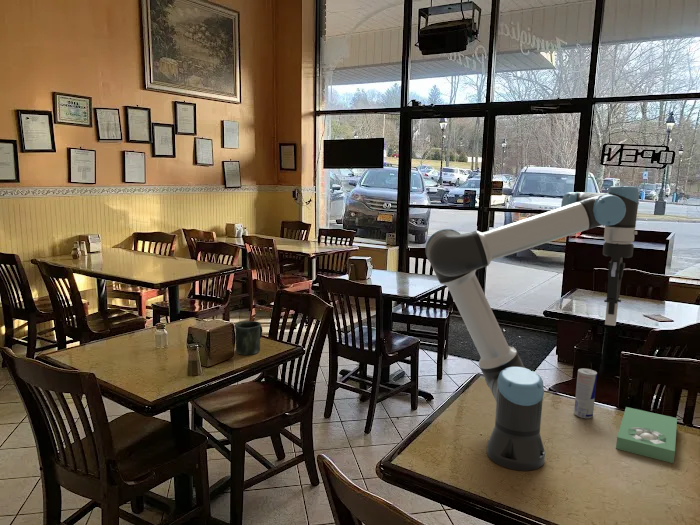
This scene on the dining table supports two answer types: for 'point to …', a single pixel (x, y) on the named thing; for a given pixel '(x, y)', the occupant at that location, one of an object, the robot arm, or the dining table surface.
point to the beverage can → (585, 393)
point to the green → (648, 423)
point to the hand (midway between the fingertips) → (610, 324)
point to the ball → (647, 436)
